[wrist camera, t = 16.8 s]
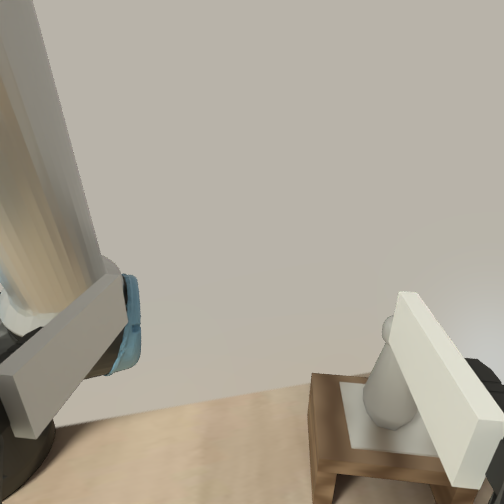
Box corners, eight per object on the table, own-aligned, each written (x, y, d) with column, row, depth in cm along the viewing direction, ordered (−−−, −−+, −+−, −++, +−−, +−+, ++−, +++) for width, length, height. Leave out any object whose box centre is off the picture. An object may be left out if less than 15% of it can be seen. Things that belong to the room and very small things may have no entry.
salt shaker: (373, 387, 41) (391, 300, 36) (420, 414, 38) (447, 321, 33) (350, 414, 37) (367, 322, 32) (400, 448, 34) (427, 349, 29)
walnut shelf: (312, 505, 36) (319, 456, 33) (307, 415, 47) (311, 371, 44) (462, 524, 35) (485, 474, 31) (421, 426, 46) (434, 381, 42)
